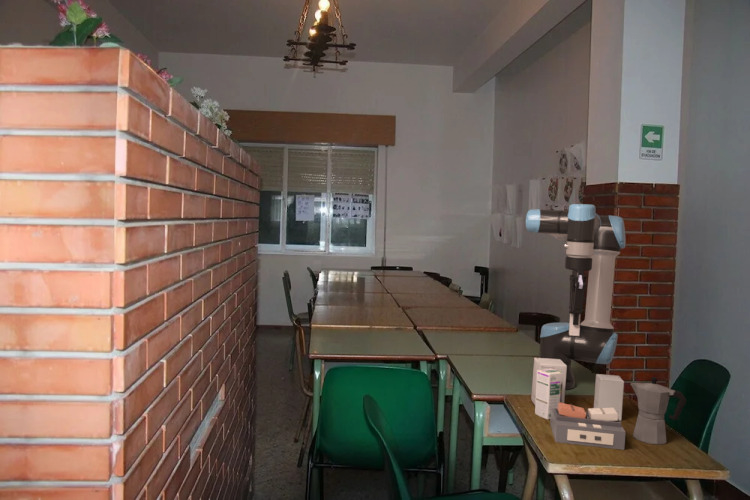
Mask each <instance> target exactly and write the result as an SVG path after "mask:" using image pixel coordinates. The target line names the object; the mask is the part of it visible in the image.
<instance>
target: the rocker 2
mask: <svg viewBox="0 0 750 500" xmlns="http://www.w3.org/2000/svg"><path fill="white" fill-rule="evenodd" d="M587 412H588V415H589V417H590V419H596V420H605V421H616V420H618V417H617V412H616V411H615V409H614V408H602V407H599V408H594V407H591V408H590V407H589V408H587Z"/></svg>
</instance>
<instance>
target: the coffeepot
mask: <svg viewBox="0 0 750 500" xmlns="http://www.w3.org/2000/svg"><path fill="white" fill-rule="evenodd" d="M650 380H651V382H643V383H642V382H631V383H630V384H629V385H630V386H631V388H632V389H633V391H634V393H635V394H636V397H637V406H638V407H637V408H638V414H637V418H636V422H635V426H634V429H633V435H632V436H633V438H634V439H635V440H637V441H639V442H642V443H646V444H648V445H664V444H667V443H668V442H667V432H666V421H665V414H666V412H667V409H668V404H669V400H670V398H677V399H678V400H679V401H678V402H677V405H676V408H675V410H674V412H673V413H674V414H673V415H670V414H669V415H668V418H669V419H670V420H673V421H677V420H679V417H680V414H681V413H682V411H683V409H684V407H685V405H686V404H687V398H686V397H685V395H684V394H683V393H682V392H681V391H679V390H674V389H671V388H669V387H667V386H664V385H661V384H658V383H657V382H658V378H657V377H655V376H653V377H651V379H650Z"/></svg>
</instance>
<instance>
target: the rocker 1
mask: <svg viewBox="0 0 750 500" xmlns="http://www.w3.org/2000/svg"><path fill="white" fill-rule="evenodd" d="M557 409H558V412H559V414H561V415H565V416H569V417H577V418H585V417H586V412H587V411H586V410H585V408H584V407H580V406H576V405H573V403H570V404H569V403H568V404H567V403H565V402H564V403H561V402H559V403H558V408H557ZM585 411H586V412H585Z"/></svg>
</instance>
